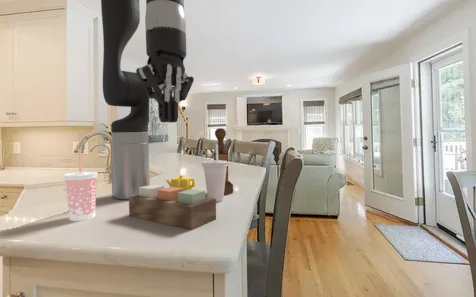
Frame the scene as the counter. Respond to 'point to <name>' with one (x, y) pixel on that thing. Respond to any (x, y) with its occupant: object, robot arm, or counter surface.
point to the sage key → (191, 196)
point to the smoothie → (215, 177)
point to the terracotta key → (169, 193)
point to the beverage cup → (81, 193)
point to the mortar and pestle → (223, 158)
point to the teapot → (182, 182)
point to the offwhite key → (149, 190)
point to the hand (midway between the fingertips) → (168, 121)
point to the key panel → (173, 211)
